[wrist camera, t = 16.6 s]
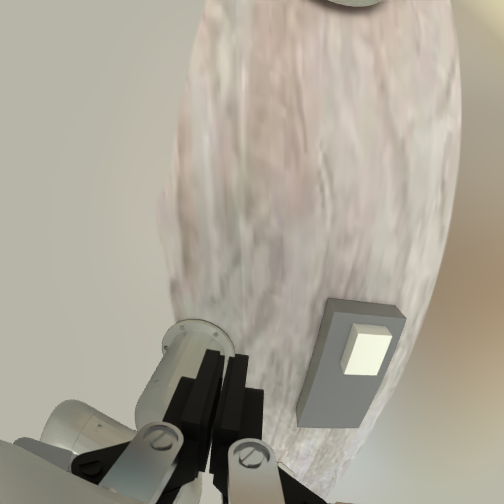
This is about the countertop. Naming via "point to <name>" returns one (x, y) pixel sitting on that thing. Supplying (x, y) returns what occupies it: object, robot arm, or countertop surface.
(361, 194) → the countertop surface
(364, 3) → the cereal bowl
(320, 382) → the socket board
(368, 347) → the plug
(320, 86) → the countertop surface
